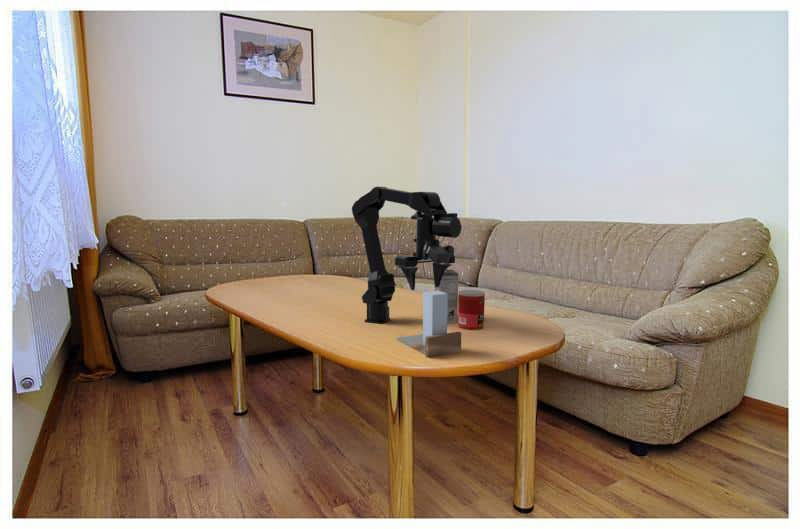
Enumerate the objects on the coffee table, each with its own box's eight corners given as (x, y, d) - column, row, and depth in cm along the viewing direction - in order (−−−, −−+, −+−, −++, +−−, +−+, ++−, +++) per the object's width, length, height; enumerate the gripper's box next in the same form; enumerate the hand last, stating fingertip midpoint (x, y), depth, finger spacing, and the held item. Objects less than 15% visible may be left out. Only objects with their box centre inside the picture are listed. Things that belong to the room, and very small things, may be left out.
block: (422, 348, 123) (423, 292, 121) (437, 346, 125) (437, 290, 123) (432, 353, 119) (432, 295, 117) (446, 350, 121) (447, 293, 119)
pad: (396, 339, 132) (396, 337, 131) (423, 335, 136) (423, 333, 136) (412, 347, 124) (412, 346, 124) (440, 343, 128) (440, 341, 128)
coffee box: (433, 316, 158) (434, 269, 156) (452, 316, 159) (453, 269, 157) (438, 323, 149) (438, 273, 147) (458, 322, 150) (458, 272, 148)
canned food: (483, 330, 140) (484, 294, 139) (456, 329, 142) (457, 293, 141) (484, 324, 148) (485, 290, 146) (458, 323, 149) (459, 289, 148)
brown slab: (410, 348, 123) (410, 329, 123) (442, 342, 128) (442, 325, 127) (427, 357, 116) (428, 337, 115) (461, 351, 120) (461, 332, 120)
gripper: (418, 239, 124) (417, 296, 127) (469, 236, 135) (467, 289, 138) (394, 235, 133) (393, 290, 135) (443, 233, 144) (441, 283, 146)
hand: (425, 288), depth 138 cm, fingers open, 9 cm apart
